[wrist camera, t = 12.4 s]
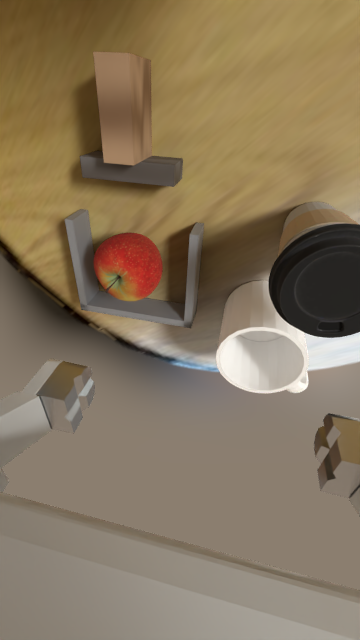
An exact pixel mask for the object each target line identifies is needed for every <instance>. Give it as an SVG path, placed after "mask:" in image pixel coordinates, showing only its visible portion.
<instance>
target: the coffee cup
mask: <svg viewBox="0 0 360 640" xmlns="http://www.w3.org/2000/svg"><path fill="white" fill-rule="evenodd" d="M269 294H270V298H271V301H272V303H273V305H274V308H275V309H276V311H277V313H278V314H279V315H280V316H281V317H282V319H284V320H285V321H286V322H287V323H288V324H290V325H291V326H293V327H295V328H297V329H299V330H300V331H302V332H305V333H307V334H310V335H313V336H318V337H327V338H334V337H343V336H348V335H352V334H355V333H358V332H360V225H359V224H358V223H357V222H355V221H354V220H353V219H351V218H350V217H349V216H347V215H346V214H344V213H342V212H340V211H338V210H336V209H335V208H334V207H332V206H331V205H329V204H326V203H323V202H309V203H305V204H303V205H300V206H298V207H297V208H295V209H294V210H293V211H291V212H290V214H289V215H288V216H287V218H286V220H285V223H284V227H283V233H282V236H281V239H280V244H279V251H278V258H277V259H276V261H275V263H274V265H273V267H272V269H271V272H270V276H269Z"/></svg>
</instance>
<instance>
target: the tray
mask: <svg viewBox="0 0 360 640" xmlns="http://www.w3.org/2000/svg"><path fill="white" fill-rule="evenodd" d="M65 224H66V230H67V235H68V240H69V246H70V251H71V256H72V262H73V267H74V272H75V278H76V283H77V288H78V294H79V299H80V305H81V310H86V311H92V312H98V313H104V314H110V315H116V316H122V317H128V318H133V319H139V320H145V321H151V322H157V323H163V324H169V325H175V326H181V327H187V328H191V327H192V323H193V320H194V317H195V314H196V307H197V296H198V286H199V275H200V264H201V253H202V242H203V231H204V224H203V223H196V224H195V225H194V227H193V229H192V231H191V233H190V238H189V254H188V269H187V285H186V301H185V304H180V303H174V302H168V301H161V300H155V299H149V298H143V299H141V300H138V301H122V300H119V299H117V298H115V297H113V296H112V295H111V294H109V293H108V292H107V293H106V292H104V291H99V287H98V280H97V276H96V273H95V270H94V251H93V243H92V236H91V229H90V222H89V214H88V210H83V209H80V210H78V211H77V212H75V213H74V214H72V215H70V216H69V217H67V218H66V219H65Z"/></svg>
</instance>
